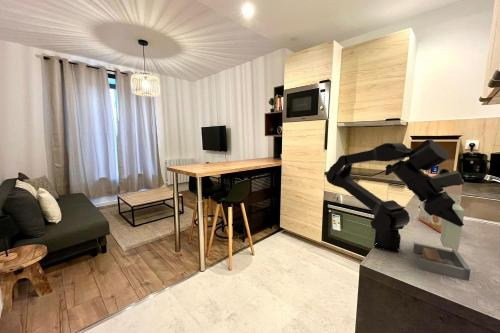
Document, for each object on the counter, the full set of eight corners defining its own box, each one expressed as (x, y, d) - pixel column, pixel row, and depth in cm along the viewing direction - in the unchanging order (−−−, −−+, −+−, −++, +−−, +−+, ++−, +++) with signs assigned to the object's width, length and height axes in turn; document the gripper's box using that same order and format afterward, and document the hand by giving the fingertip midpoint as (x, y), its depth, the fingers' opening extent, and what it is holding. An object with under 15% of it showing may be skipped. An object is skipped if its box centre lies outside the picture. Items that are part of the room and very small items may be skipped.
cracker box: (458, 234, 78) (465, 179, 76) (439, 233, 80) (445, 178, 77) (433, 220, 92) (438, 173, 89) (418, 219, 93) (422, 173, 91)
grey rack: (418, 268, 58) (419, 257, 58) (413, 250, 67) (414, 241, 67) (468, 280, 53) (470, 269, 52) (455, 259, 62) (456, 250, 62)
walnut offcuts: (426, 269, 58) (427, 258, 58) (421, 256, 65) (422, 246, 64) (443, 273, 56) (444, 262, 56) (436, 259, 63) (437, 250, 62)
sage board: (443, 246, 58) (449, 208, 56) (440, 239, 62) (445, 203, 61) (458, 250, 56) (464, 210, 55) (454, 242, 60) (459, 205, 59)
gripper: (448, 163, 50) (510, 217, 46) (436, 157, 66) (481, 197, 61) (404, 190, 56) (455, 241, 51) (402, 179, 71) (441, 217, 67)
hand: (459, 222), depth 57 cm, fingers closed on sage board, 5 cm apart
